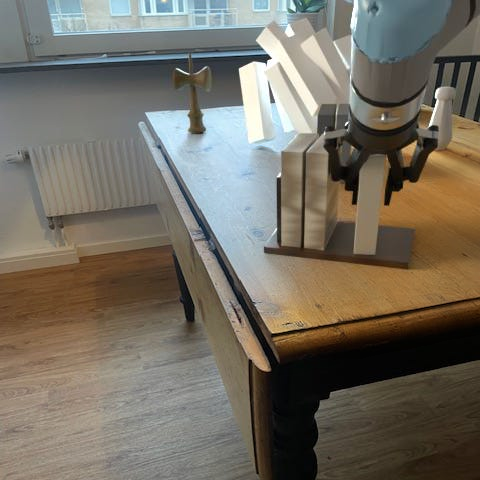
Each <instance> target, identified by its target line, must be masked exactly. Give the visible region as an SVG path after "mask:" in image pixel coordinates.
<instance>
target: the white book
mask: <svg viewBox="0 0 480 480" xmlns="http://www.w3.org/2000/svg"><path fill="white" fill-rule="evenodd" d="M386 161H387V155H380V154H376V155H370V156H369V158H368V160H367V161H366V163H364V164H363V166H362V168H361V169H360V172H359V186H358V196H357V205H356V209H355V210H356V211H355V222H354V223H355V238H354V254H364V255H375V252H376V243H377V234H378V225H379V224H380V215H381V205H382V196H383V187H384V179H385V178H384V177H385V170H386Z"/></svg>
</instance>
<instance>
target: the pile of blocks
mask: <svg viewBox="0 0 480 480" xmlns="http://www.w3.org/2000/svg"><path fill="white" fill-rule="evenodd" d="M255 42H256V43H257V44H258V45H259V46H260V48H262V49H263V50H264V51H265V52H266V53H267V55H268V56H269V57H270V58H271V59H268V60H267V63H265V62H260V61H251V62H250V63H247V64H245V65H243V66H242V67H239V68H238V73H239V82H240V88H241V95H242V96H241V97H242V103H243V110H244V111H243V112H244V118H245V125H246V132H247V139H248V144H255V145H257V144H258V145H260V144H263V143H268V142H270V141H273V140H276V135H275V129H274V119H273V112H272V105H271V96H270V89H271V93H272V96H273V99H274V102H275V105H276V108H277V109H276V110H277V111H278V115H279V117H280V121H281V124H282V127H283V128H282V129H283V131H284V133H285V132H287V133H290V132H294V131H295V133H296V136H297V135H298V134H299V133H313V134H314V132H315V131H317V119H318V113H319V110H320V107H321V105H322V104H337V107H336V117H337V111H338V107H339V104H349V100H350V75H351V45H352V34H348V35H345V36H342V37H340V38H338V39H335V40H333V39H332V37H331V35H330V34H329V31H328V29H327V27H326V26H325V27H323V28H321V29H320V30H318V31H317V32H316V31H315V29H314V27H313V26H312V24H311V22H310V21H309V20H308V18H307V17H304V18H301V19H298V20H296V21H293V22H290V23H288V25H287V27H286V29H285V30H284V29H283V28H282V27H281V26H280V25H279V23H278V22H276V21H275V20H272V21H271V22H270V23H269V24H267V25H266V26H265V27H264V28H263V30H262V31H261V32H260V34H259V35H258V37H257V38H256V40H255ZM269 87H270V89H269ZM335 129H336V126H335Z"/></svg>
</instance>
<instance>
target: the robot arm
mask: <svg viewBox="0 0 480 480" xmlns="http://www.w3.org/2000/svg"><path fill="white" fill-rule="evenodd" d="M344 1H345V2H347V3H348V4H351V5H353V9H352V11H351V14H350V33H351V35H352V45H351V75H350V100H349V121H348V122H347V123H346V125H345V127H344V129H341V130H336V128H334V127H333V126H327V127H325V132H324V143H323V147H324V149H325V150H326V151H327V152H328V154H329V159H330V169H331V180H332V181H334V182H338V181H340V179H341V180H344V181H345V183H344V191H345V192H351V193H352V195H351V206H357V197H358V186H359V173H360V169H361V168H362V166H363V164H364V163H366V161H367V160H368V158H369V156H370V155H376V154H380V155H386V159H387V162H388V163H389V168H388V173H387V177H386V182H385V187H384V197H383V206H385V207H389V206H390V203H391V199H392V196H393V193H399V192H400V191H402V190H403V189H404V182H407V181H408V183H411V184H416V183H418V182H419V180H420V177H421V175H422V173H423V170H424V168H425V166H426V163H427V161H428V158H429V156H430V155H431V154H432V153H433V152H434V151H436V150H435V149H436V148H437V147H438V135H439V127H438V126H437V125H432V126H429V125H428V127H427V128H425V129H424V128H421V127H420V125H419V123H418V122H419V118H420V115H421V110H422V105H423V103H424V100H425V96H426V95H425V94H426V91H427V87H428V83H429V80H430V76H431V72H432V70H433V66H434V63H435V60H436V57H437V56H438V54H439V53H440V52H441V51H442V50H443V49H444V48H446V47H447V45H448V44H449V43H451V41H453V40H454V39H456V37H458V35H459V34H461V32H463V31H464V29H466V28H467V27H468V26H469V25H470V24H471V23H472V22H473V21H474V20H475V19H476V18H477V17H479V16H480V0H344ZM344 140H345V141H346V142H347V143H349V144H350V145H351V147H353V150H352V151H351V156H350V158H349V160H348V162H347V161H346V166H342V160H341V146H342V145H343V141H344ZM415 142H416V145H415V147H414V151H413V152H412V156H411V159H410V162H409V165H407V166H405V162H404V156H403V149H405V148H406V147H408V146H410V145H411V144H413V143H415Z"/></svg>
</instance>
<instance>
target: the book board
mask: <svg viewBox="0 0 480 480" xmlns="http://www.w3.org/2000/svg"><path fill="white" fill-rule="evenodd" d="M323 143H324V134H322V135H321V136H320V137H319V134H317V133H314V132H313V133H299V134H298V135H297V134H296V135H295V137H293V139H292V140H291V141H290V142H289V143H288V144H287V145H286V146H285V147H284V148H283V149H282V150H281V151H280V173H279V174H278V175H277V176H276V179H275V180H276V182H275V183H276V184H275V185H276V189H275V190H276V228H275V230H274V232H273V234H272V235H271V236H270V237H269V239H268V240H267V242H266V243H265V245H264V246H263V253H264V254H271V255H280V256H289V257H298V258H305V259H306V258H307V259H314V260H315V259H316V260H323V261H324V260H325V261H332V262H333V261H334V262H343V263H349V264H351V263H352V264H359V265H368V266H376V267H377V266H378V267H385V268H386V267H387V268H394V269H403V270H409V266H410V260H411V255H412V250H413V243H414V238H415V232H416V228H414V227H413V228H412V227H402V226H393V225H391V226H389V225H381V224H380V225H378V234H377V243H376V252H375V255H364V254H354V238H355V222H347V221H338V219H339V218H338V217H339V216H338V215H339V199H340V187H341V186H340V185H341V183H340V181H338V182H334V181H332V180H331V169H330V159H329V154H328V152H327V151H326V150H325V149H324V147H323ZM341 153H342V146H341Z"/></svg>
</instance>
